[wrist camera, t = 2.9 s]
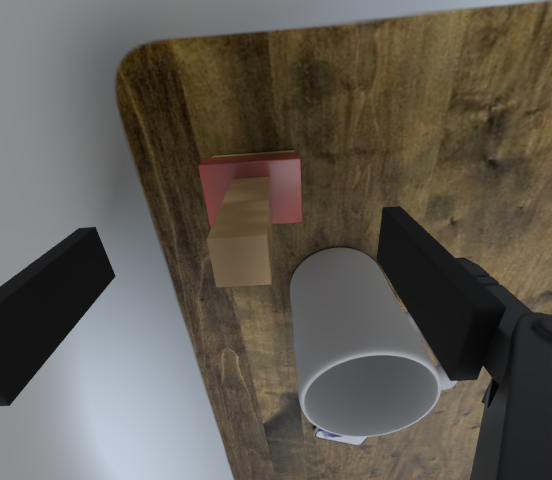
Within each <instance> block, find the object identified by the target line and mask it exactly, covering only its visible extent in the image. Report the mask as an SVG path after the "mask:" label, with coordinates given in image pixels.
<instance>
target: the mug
mask: <svg viewBox="0 0 552 480" xmlns="http://www.w3.org/2000/svg"><path fill="white" fill-rule="evenodd" d="M290 300H291V308H292V319H293V331H294V344H295V356H296V369H297V381H298V393H299V401H300V405H301V408H302V411H303V413H304V415H305V416H306V417H307V419H308V420H309V421H310V422H311V423H313V424H314V425H315V426H317V427H318V428H320V429H322V430H324V431H326V432H329V433H332V434H336V435H340V436H347V437H372V436H379V435H384V434H389V433H392V432H396V431H398V430H401V429H404V428H406V427H408V426H410V425H412V424H414V423H416V422H417V421H419V420H420V419H422V418H423V417H424V416H425V415H427V414H428V413H429V412H430V411H431V410H432V408H433V407H434V406H435V404H436V403H437V401H438V399H439V396H440V392H441V390H446V389H450V388H452V387H453V386H454V385H455V384H456V383H457V381H450V380H449V378H448V376H447V375H446V373H445V371H444V370H443V368H442V366H441V365H440V363H439V361H438V360H437V358H436V356H435V355H434V353H433V352H432V350H431V348H430V347H429V345H428V343H427V342H426V340H425V338H424V337H423V335H422V333H421V332H420V330H419V328H418V327H417V325H416V323H415V322H414V320H413V318H412V317H411V315H410V313H408V312H404V311H403V309H402V307H401V306H400V304H399V302H398V300H397V299H396V297H395V295H394V293H393V292H392V290H391V288H390V286H389V284H388V282H387V281H386V279H385V277H384V275H383V273H382V271H381V269H380V268H379V266H378V265H377V263H376V262H375V261H374V260H373V259H372V258H370V257H369V256H368V255H366V254H365V253H363V252H361V251H358V250H355V249H351V248H341V247H338V248H330V249H325V250H322V251H319V252H317V253H315V254H313V255H311V256H310V257H308V258H307V259H305V260H304V261H303V262H302V263H301V264H300V265H299V266H298V268H297V269H296V270H295V272H294V274H293V276H292V279H291V283H290ZM418 336H419V337H420V338H421V339H422V340H423V341H424V342H425V344H426V345H427V346H428V347H429V349H430V350H431V352H432V353H433V355H434V357H435V359H436V361H437V364H438V366H435V365H434V364H433V362H432V360H431V358H430V356H429V355H428V353H427V351H426V349H425V348H424V346H423V344H422V342H421V341H420V339H419V337H418Z"/></svg>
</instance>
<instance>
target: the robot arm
mask: <svg viewBox="0 0 552 480" xmlns="http://www.w3.org/2000/svg"><path fill="white" fill-rule="evenodd" d="M377 260H378V262H379V264H380V265H381V267H382V269H383V270H384V272H385V274H386V275H387V277H388V279H389V280H390V282H391V284H392V285H393V287H394V289H395V290H396V292H397V294H398V295H399V297H400V299H401V300H402V302H403V304H404V305H405V307H406V308H407V310H408V312H409V313H410V315H411V317H412V318H413V320H414V322H415V323H416V325H417V327H418V328H419V330H420V332H421V333H422V335H423V337H424V338H425V340H426V342H427V343H428V345H429V347H430V348H431V350H432V352H433V353H434V355H435V356H436V358H437V360H438V361H439V363H440V365H441V366H442V368H443V370H444V371H445V373H446V375H447V376H448V378H449V380H450V381H461V380H477V378H478V376H479V373H480V371H481V369H482V366H484V367H485V369H486V370H487V371H488V373H489V374H490V375H491V377H492V379H491V381H490V384H489V386H488V388H487V390H486V393H485V395H484V397H483V399H482V403H484V404H485V407H484V412H483V417H482V422H481V427H480V432H479V437H478V442H477V447H476V452H475V457H474V462H473V467H472V473H471V478H470V480H552V315H548V314H544V313H534V312H532V311H531V310H530V309H529V308H528V307H526V306H525V305H524V304H523V303H522V302H521V301H519V300H518V299H517V298H516V297H515V296H514V295H513V294H511V293H510V292H509V291H508V290H507V289H506V288H504V287H503V286H502V285H499V282H498V281H496V280H495V279H494V278H493V277H490V274H488V273H487V272H486V271H485V270H484V269H483V268H481V267H480V266H479V265H477V264H475V263H473V262H471V261H469V260H467V259H465V258H454V257H453V256H452V255H451V254H450V253H449V252H448V251H447V250H446V249H445V248H444V247H443V246H442V245H441V244H439V243H438V242H437V241H436V240H435V239H434V238H433V237H432V236H431V235H430V234H429V233H428V232H427V231H426V230H425V229H424V228H422V227H421V226H420V225H419V224H418V223H417V222H416V221H415V220H414V219H413V218H412V217H411V216H410V215H409V214H408V213H407V212H406V211H404V210H403V209H402V208H401V207H400V206H398V207H383V211H382V219H381V228H380V236H379V245H378V254H377ZM114 277H115V274H114V271H113V269H112V266H111V264H110V262H109V259H108V257H107V254H106V252H105V249H104V247H103V244H102V242H101V240H100V237H99V235H98V232H97V230H96V227H90V228H79V229H77V230H76V231H75V232H74V233H72V234H71V235H69V236H68V237H67V238H65V239H64V240H63V241H61V242H60V243H58V244H57V245H56V246H55V247H53V248H52V249H51V250H49V251H48V252H47V253H45V254H44V255H42V256H41V257H40V258H39V259H37V260H36V261H34V262H33V263H31V264H30V265H29V266H28V267H26V268H25V269H23V270H22V271H21V272H20V273H18V274H17V275H15V276H14V277H13V278H11V279H10V280H9V281H7V282H6V283H5V284H3V285H2V286H0V406H10V404H11V403H12V402H13V401H14V399H15V398H16V397H17V396H18V395H19V393H20V392H21V391H22V390H23V389H24V387H25V386H26V385H27V384H28V382H29V381H30V380H31V379H32V378H33V376H34V375H35V374H36V373H37V371H38V370H39V369H40V368H41V367H42V365H43V364H44V363H45V362H46V360H47V359H48V358H49V357H50V356H51V354H52V353H53V352H54V351H55V350H56V348H57V347H58V346H59V345H60V343H61V342H62V341H63V340H64V338H65V337H66V336H67V335H68V334H69V332H70V331H71V330H72V329H73V328H74V326H75V325H76V324H77V323H78V321H79V320H80V319H81V318H82V317H83V315H84V314H85V313H86V312H87V310H88V309H89V308H90V307H91V306H92V304H93V303H94V302H95V300H96V299H97V298H98V297H99V296H100V295H101V293H102V292H103V291H104V290H105V288H106V287H107V286H108V285H109V284H110V282H111V281H112V280H113V279H114Z"/></svg>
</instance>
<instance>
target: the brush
mask: <svg viewBox="0 0 552 480" xmlns="http://www.w3.org/2000/svg"><path fill="white" fill-rule="evenodd" d="M198 167H199V172H200V177H201V183H202V188H203V193H204V198H205V203H206V208H207V213H208V218H209V223H210V228H211V230H210V233H209V235H208V237H207V244H208V249H209V254H210V259H211V263H212V268H213V273H214V278H215V282H216V286H217V287H232V286H249V285H266V284H271V283H272V224H286V223H302V222H303V215H302V177H301V157H300V155H299V152H295V151H294V150H288V151H274V152H260V153H246V154H232V155H218V156H212V157H211V158H205V159H204V160H203V161H202V162H201V163H200V164H199V165H198Z"/></svg>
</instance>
